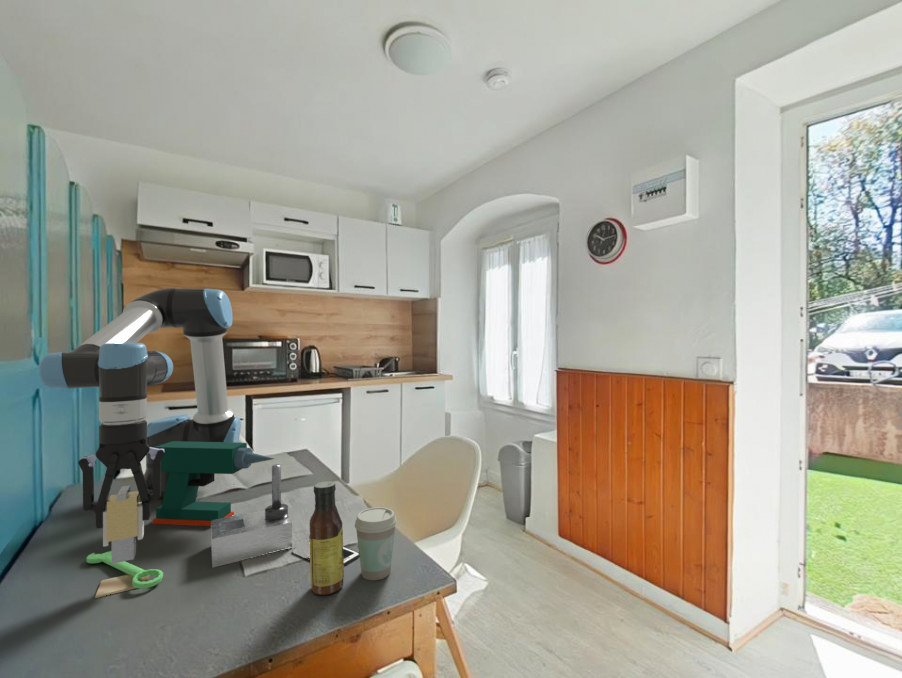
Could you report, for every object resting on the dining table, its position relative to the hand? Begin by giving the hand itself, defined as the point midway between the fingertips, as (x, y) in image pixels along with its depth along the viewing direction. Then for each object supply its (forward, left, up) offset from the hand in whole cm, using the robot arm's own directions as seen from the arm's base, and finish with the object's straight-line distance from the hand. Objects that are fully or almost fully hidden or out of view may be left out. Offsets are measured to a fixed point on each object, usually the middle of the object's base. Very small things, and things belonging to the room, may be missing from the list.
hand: (124, 539), depth 84 cm
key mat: (0, 0, -9) cm, 9 cm away
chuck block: (-4, +23, -9) cm, 25 cm away
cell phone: (+8, +37, -9) cm, 39 cm away
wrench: (-6, -1, -9) cm, 10 cm away
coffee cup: (+21, +44, -9) cm, 50 cm away
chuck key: (0, 0, -3) cm, 3 cm away
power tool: (-25, +17, -9) cm, 31 cm away
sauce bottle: (+21, +34, -9) cm, 41 cm away
